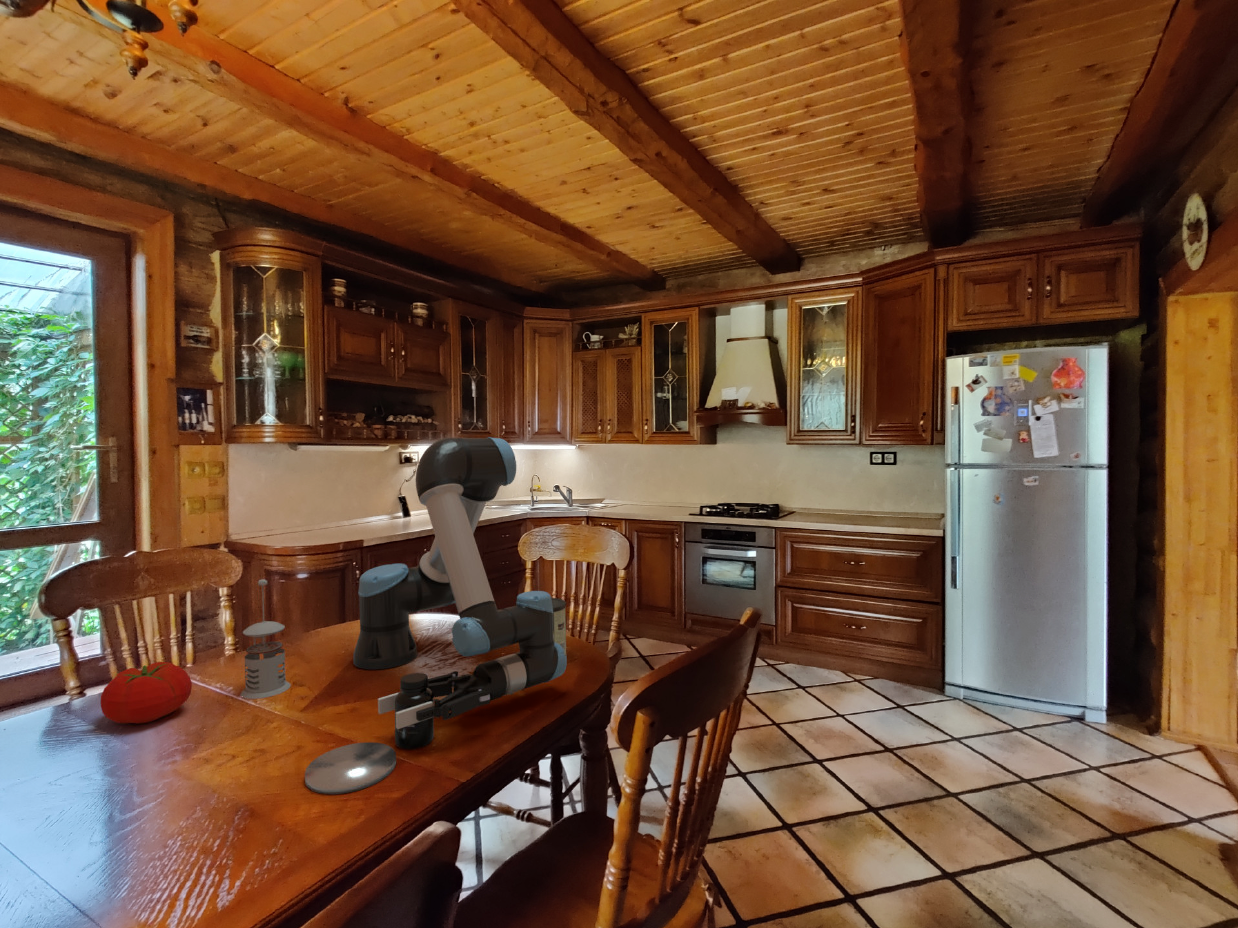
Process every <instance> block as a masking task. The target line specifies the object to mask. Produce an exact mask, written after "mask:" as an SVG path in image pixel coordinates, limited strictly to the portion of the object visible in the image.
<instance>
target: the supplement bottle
mask: <svg viewBox="0 0 1238 928" xmlns="http://www.w3.org/2000/svg"><path fill="white" fill-rule="evenodd" d="M428 679H429V676H428V675H427V674H426V673H423V672H413V673H412V672H411V673H408V674H405V675H403V676H402V677H401V678H400V686H399V689H400V691H399V693H398V692H397V693H398V694H397V696H396V698H395V710H394V740H395V741H394V742H395V745H396V746H397V747H398V748H399V749H402V750H417V749H420V748H423V747H426V746H427V745H429V744H430V743H431V742H432V741H433V740H434V735H435V734H434V733H435V729H434V726H435V725H434V724H435V722H434V721H435V720H434V719H435V717H432V718H429V719H426V720H423V721H420V722H417V723H414V724H412V725H409V726H406V727H403V728H400V729H397V728H396V712H399V711H402V710H405V709H408V708H411V707H414V706H417V705H421V704H424V703H427V702H430V701H431V702H433V706H434V699H435V698H434V695H433V692H432V691H431V690H430V689H429V688H427V687H428Z"/></svg>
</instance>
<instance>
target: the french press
mask: <svg viewBox="0 0 1238 928" xmlns="http://www.w3.org/2000/svg"><path fill="white" fill-rule="evenodd" d="M266 585H268V580H266V579H264V578H263V579H259V580H258V582H257V586H261V595H262V596H261V598H262V600H261V602H262V621H261V622H257V623H253V624H252V625H250V626H248V627H246V629H244V630H243V631H242V634H243V635H244V636H246V637H252V638H253V645H250V646H248V647H247V648H246V650H245V652H246V653H247V654H246V655H244V676H245V677H244V682H245V684H244V685H245V687H244V688H243V690H242V691H241V692H240V697H242V696H243V697H242V698H244V699H248V700H249V699H250V700H252V699H253V700H254V699H255V700H256V699H257V700H258V699H264V698H269V697H273V696H278V695H280V694H282V693H284V692H286V691H287V690H289V689H290V688H291V683H290V682H289V681H287V680H286V662H285V661H286V657H285V656H286V652H285V649H284V648H283V645H284V644H283V643H282V642H280V641H267V642H266V637H268V636H271V635H275V634H278V633H281V632H282V631H284V630H285V628H286V627H285V624H282V623H280V622H277V621H272V620H271V621H268V620H267V621H266V620H265V605H264V603H265V602H264V600H265V598H264V586H266ZM260 638H261V642H259V643H256V639H260ZM260 655H262V656H263V658H262V659H261V658H260ZM279 665H282V666H279ZM246 667H247V668H246ZM282 670H283V671H282ZM279 671H280V672H279Z"/></svg>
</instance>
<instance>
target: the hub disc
mask: <svg viewBox="0 0 1238 928" xmlns="http://www.w3.org/2000/svg"><path fill="white" fill-rule="evenodd" d="M396 765H397V755H396V751H395V749H394V748H393V747H391V746H390V745H388V744H386V743H381V742H373V741H372V742H371V741H368V742H356V743H352V744H351V743H350V744H346V745H342V746H340V747H336V748H333V749H331V750H329V751H327V752H324V753H322V754H320V755H319V756H318V757H316V758H315V759H314V760H312V761H311V762H310V764H308V766H307V767H306V768H305V771H304V781H305V782H304V784H305V785H306V788H308V789H309V790H310V791H312V792H314V793H316V794H322V795H342V794H343V795H344V794H350V793H353V792H358V791H361V790H364V789H366V788H367V789H368V788H370V787H372V786H374V785H375V784H378V783H380V782H382V781H383V780H384V779H385V778H387V777H388V776H389V775H390V774H391V773H392V772H393V771H394V770H395V767H396Z"/></svg>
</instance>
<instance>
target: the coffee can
mask: <svg viewBox="0 0 1238 928" xmlns="http://www.w3.org/2000/svg"><path fill="white" fill-rule="evenodd" d="M551 600H552V607H553V639H554V643H558V644H559V645H561V647H562V648H563V649H564V655H565V656H566V658H567V630H566V629H567V627H566V625H567V622H566V621H567V620H566V619H567V618H566V617H567V616H566V605H567V602H566V600H564V599H561V598H556V597H551Z"/></svg>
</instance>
